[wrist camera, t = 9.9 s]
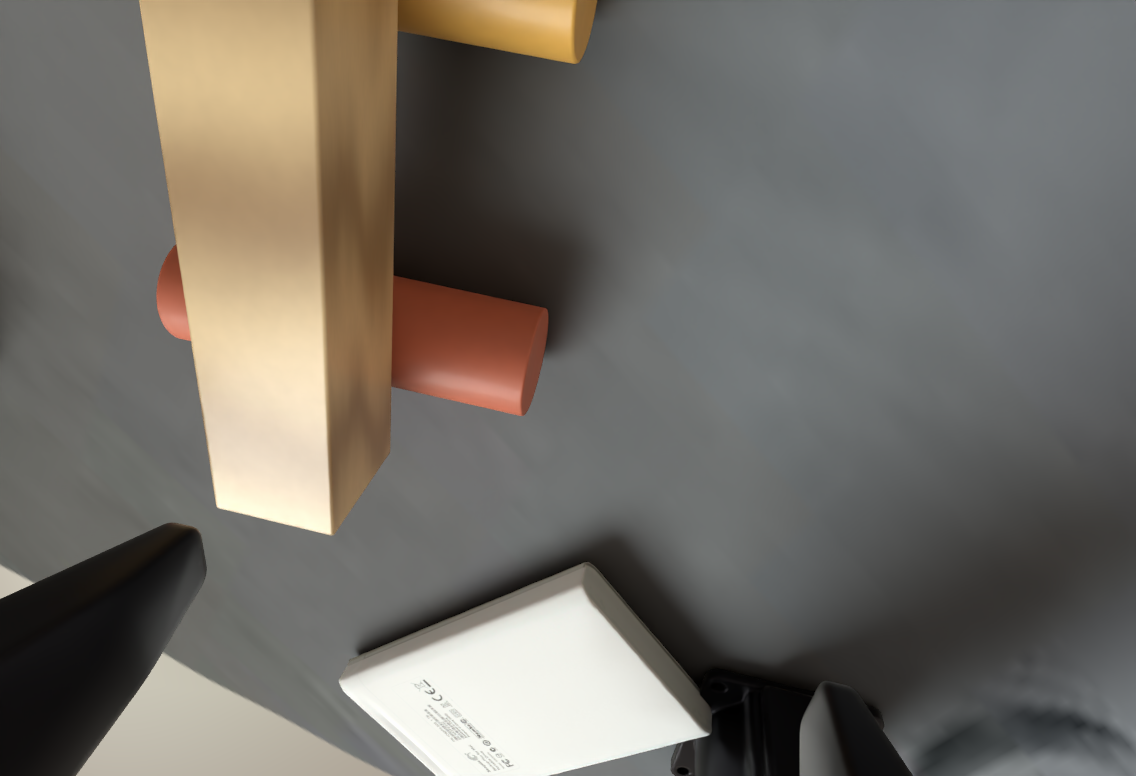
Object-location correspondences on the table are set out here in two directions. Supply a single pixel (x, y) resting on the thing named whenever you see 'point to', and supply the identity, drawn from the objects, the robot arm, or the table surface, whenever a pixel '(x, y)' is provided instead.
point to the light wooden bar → (283, 239)
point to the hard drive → (531, 684)
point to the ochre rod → (505, 24)
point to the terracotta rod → (435, 340)
